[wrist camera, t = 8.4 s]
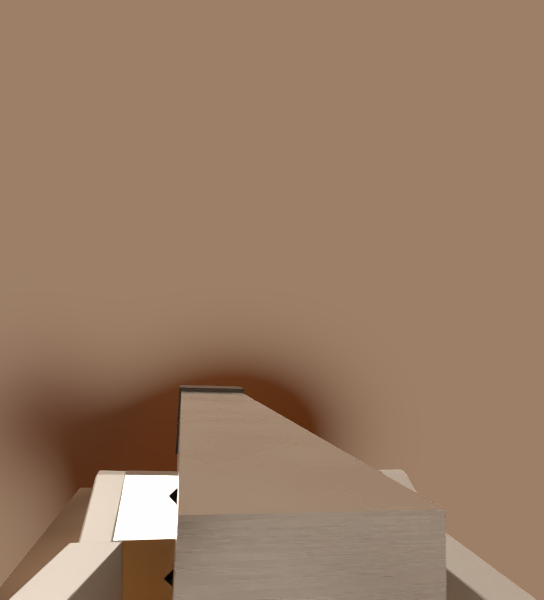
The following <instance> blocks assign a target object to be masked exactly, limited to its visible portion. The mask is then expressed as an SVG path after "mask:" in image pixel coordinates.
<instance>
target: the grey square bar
mask: <svg viewBox="0 0 544 600" xmlns="http://www.w3.org/2000/svg"><path fill="white" fill-rule="evenodd" d="M176 454H178V464H177V472H178V491H177V512H176V533H175V551H174V568H173V584H172V600H447V598H446V512H445V511H446V510H445V509H444V508H442V507H440V506H438V505H436V504H435V503H433V502H431V501H430V500H428V499H426V498H424V497H423V496H421V495H419V494H417V493H416V492H414V491H412V490H410V489H409V488H407V487H405V486H403V485H402V484H400V483H398V482H397V481H395V480H393V479H391V478H390V477H388V476H386V475H384V474H383V473H381V472H379V471H377V470H375V469H374V468H372V467H370V466H369V465H366V464H365V463H363V462H362V461H360V460H358V459H356V458H355V457H353V456H351V455H349V454H348V453H346V452H344V451H342V450H341V449H339V448H337V447H335V446H333V445H332V444H330V443H328V442H327V441H325V440H323V439H321V438H320V437H318V436H316V435H314V434H313V433H311V432H309V431H308V430H306V429H304V428H302V427H300V426H299V425H297V424H295V423H293V422H292V421H290V420H288V419H286V418H285V417H283V416H281V415H280V414H278V413H276V412H274V411H272V410H271V409H269V408H267V407H266V406H264V405H262V404H260V403H259V402H257V401H255V400H253V399H252V398H250V397H248V396H246V395H245V394H244V389H243V388H241V387H232V386H192V385H191V386H190V385H180V389H179V407H178V424H177V442H176Z"/></svg>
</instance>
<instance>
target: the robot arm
mask: <svg viewBox="0 0 544 600" xmlns="http://www.w3.org/2000/svg"><path fill="white" fill-rule="evenodd" d="M378 471H379V472H381V473H383V474H384V475H386V476H388V477H390V478H391V479H393V480H395V481H397V482H398V483H400V484H402V485H403V486H405V487H407V488H409V489H410V490H412V491H414V492H416V491H415V489H414V487H413V486H412V484H411V482H410V480H409V478H408V476H407V475H406V473H405V472H404V471H403V470H378ZM177 491H178V472H172V471H99V473H98V474H97V476H96V478H95V482H94V486H93V489H92V493H91V497H90V501H89V504H88V508H87V512H86V515H85V519H84V523H83V527H82V530H81V534H80V538H79V542H78V543H69V544H68V545H67V546H66V547H65V548H64V549H63V550H61V551H60V552H59V553H58V554H57V555H56V556H55V557H54V558H53V559H52V560H51V561H50V562H49V563H48V564H47V565H45V566H44V567H43V568H42V569H41V570H40V571H39V572H38V573H37V574H36V575H35V576H34V577H33V578H32V579H30V580H29V581H28V582H27V583H26V584H25V585H24V586H23V587H22V588H21V589H20V590H19V591H18V592H17V593H16V594H14V595H13V596H12V597H11V598H10V599H9V600H172V584H173V568H174V551H175V533H176V512H177ZM446 598H447V600H536V599H534V598H533V597H532V596H531V595H529V594H528V593H526V592H525V591H524V590H522V589H521V588H520V587H518V586H517V585H516V584H514V583H513V582H512V581H510V580H509V579H507V578H506V577H505V576H503V575H502V574H501V573H499V572H498V571H497V570H495V569H494V568H493V567H491V566H490V565H488V564H487V563H486V562H484V561H483V560H482V559H480V558H479V557H478V556H476V555H475V554H474V553H472V552H471V551H470V550H468V549H467V548H466V547H464V546H463V545H461V544H460V543H459V542H457V541H456V540H455V539H453V538H452V537H451V536H449V535H448V534H446Z"/></svg>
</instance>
